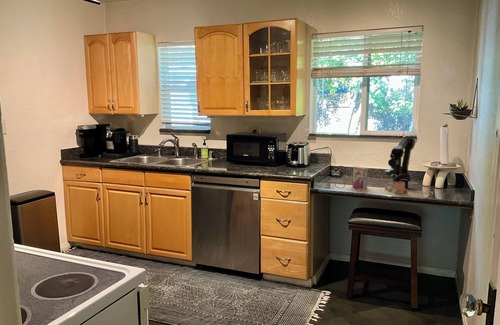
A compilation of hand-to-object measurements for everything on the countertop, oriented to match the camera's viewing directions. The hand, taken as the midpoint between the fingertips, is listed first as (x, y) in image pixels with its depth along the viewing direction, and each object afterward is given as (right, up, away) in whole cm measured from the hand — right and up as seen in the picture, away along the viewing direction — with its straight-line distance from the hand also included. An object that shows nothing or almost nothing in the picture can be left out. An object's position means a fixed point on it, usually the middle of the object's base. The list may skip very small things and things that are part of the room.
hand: (395, 185), depth 296 cm
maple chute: (0, -5, 0) cm, 5 cm away
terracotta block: (+1, -5, -4) cm, 6 cm away
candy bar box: (-22, -3, +16) cm, 28 cm away
